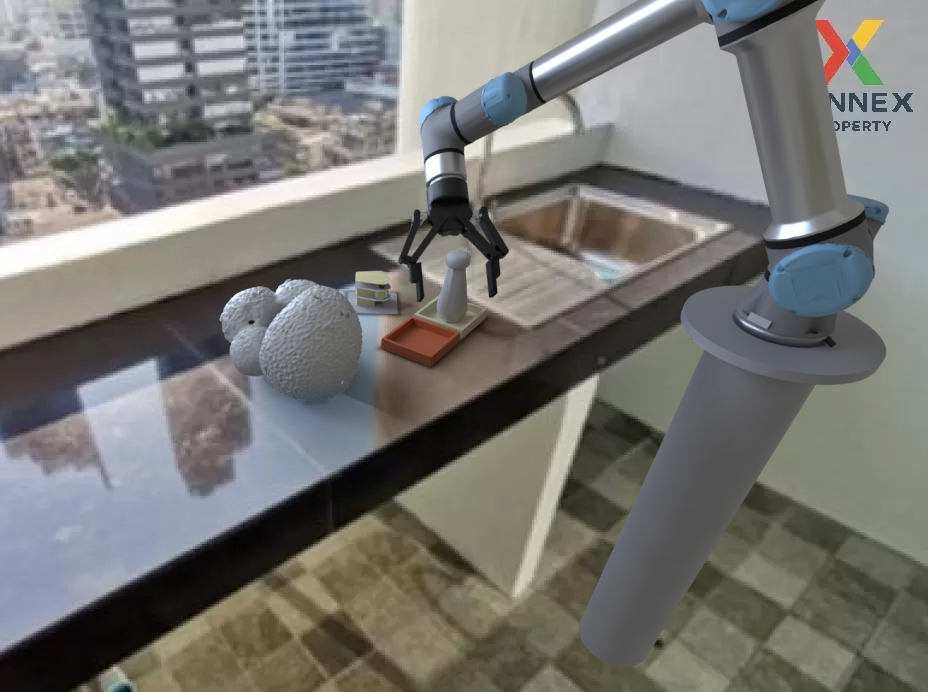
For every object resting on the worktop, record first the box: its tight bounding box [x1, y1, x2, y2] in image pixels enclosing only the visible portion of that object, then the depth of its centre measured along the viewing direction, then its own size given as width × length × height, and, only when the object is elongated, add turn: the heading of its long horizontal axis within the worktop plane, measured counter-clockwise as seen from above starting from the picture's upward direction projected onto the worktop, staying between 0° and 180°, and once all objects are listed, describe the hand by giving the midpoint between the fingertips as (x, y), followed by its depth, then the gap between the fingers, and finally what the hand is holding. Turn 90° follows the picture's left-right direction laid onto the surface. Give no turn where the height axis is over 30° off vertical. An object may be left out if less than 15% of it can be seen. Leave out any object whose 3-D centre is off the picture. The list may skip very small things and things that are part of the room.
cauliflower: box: [219, 278, 363, 402], centre depth 96 cm, size 20×25×22 cm
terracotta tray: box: [380, 315, 460, 368], centre depth 108 cm, size 10×10×2 cm
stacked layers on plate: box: [347, 270, 399, 315], centre depth 120 cm, size 10×9×6 cm
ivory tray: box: [413, 294, 489, 341], centre depth 115 cm, size 10×10×2 cm
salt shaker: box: [437, 249, 472, 323], centre depth 111 cm, size 6×6×13 cm
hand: (457, 297), depth 110 cm, fingers open, 13 cm apart
